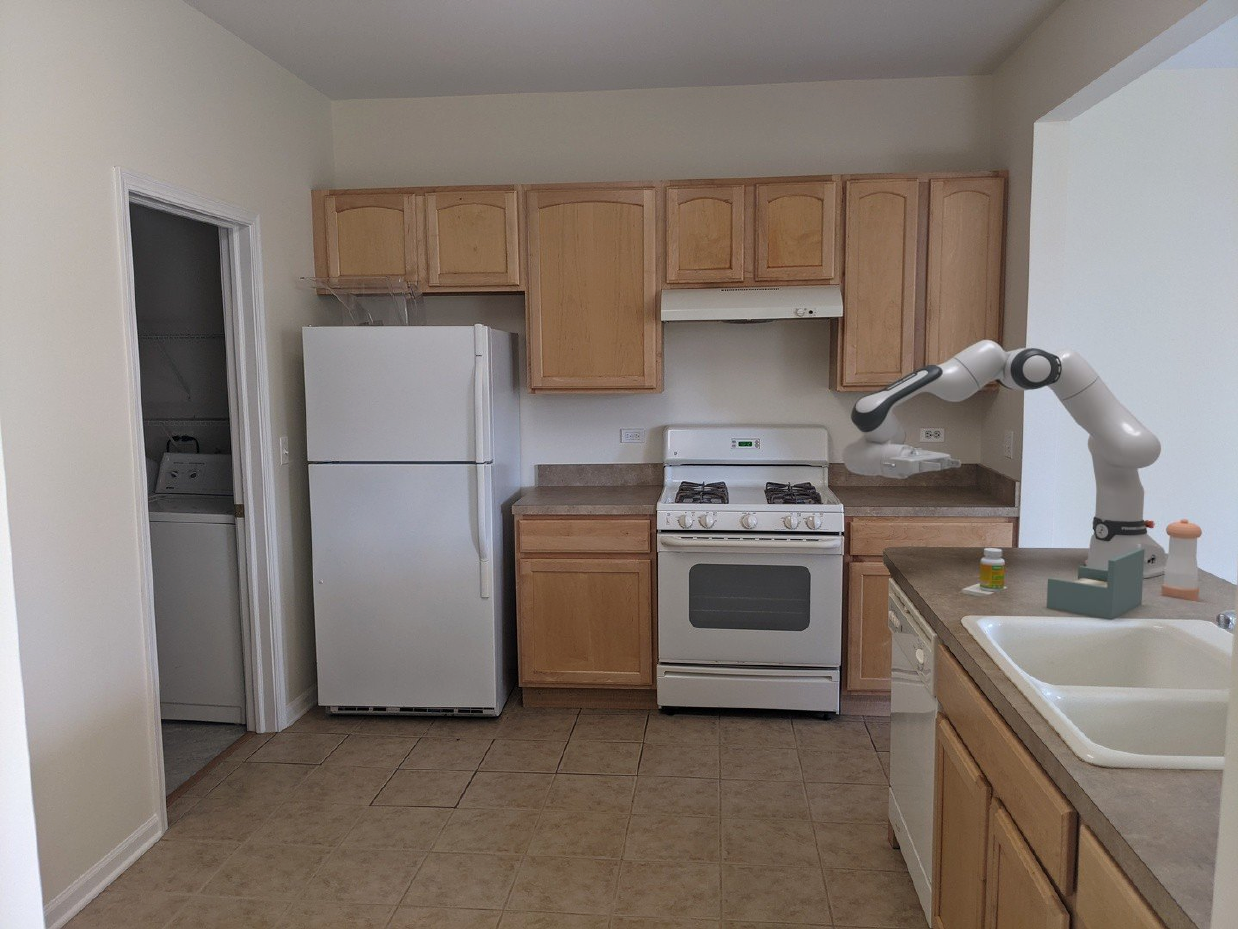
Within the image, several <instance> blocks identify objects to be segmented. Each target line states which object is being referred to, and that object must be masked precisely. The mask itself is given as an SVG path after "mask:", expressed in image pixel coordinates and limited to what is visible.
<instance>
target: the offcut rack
mask: <svg viewBox="0 0 1238 929" xmlns="http://www.w3.org/2000/svg"><path fill="white" fill-rule="evenodd" d="M1144 553H1145V549H1142V548H1138V549H1135V550H1133V551H1130V552H1128V553H1125V554H1123V555H1120V556H1118V557H1115V558H1113V559H1110V560H1108V570H1104V569H1097V568H1091V567H1086V566H1082V565H1080V566H1079V565H1078V570H1077V580H1078V579H1081V578H1085V579H1091V580H1097V581H1103V582H1107V587H1104V586H1098V585H1092V584H1085V583H1079V582H1073V581H1074V580H1073V581H1071V580H1066V579H1059V578H1053V577H1049V578H1047V591H1046V592H1047V593H1046V608H1047V609H1051V610H1057V611H1060V612H1066V613H1073V614H1077V615H1082V616H1089V617H1093V618H1098V619H1104V620H1110V621H1112V620H1114V619H1116V618H1119V617H1120V616H1122V615H1123V614H1126V613H1128V612H1129V611H1131V610H1133V609H1135V608H1137V607H1139V606H1141V605H1142V602H1143V601H1142V599H1143V584H1144V582H1143V581H1144V578H1143V570H1144Z"/></svg>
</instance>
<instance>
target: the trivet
mask: <svg viewBox="0 0 1238 929" xmlns="http://www.w3.org/2000/svg"><path fill="white" fill-rule="evenodd" d="M1007 588H1008V587H1007V586H1004V589H1003V590H1005V589H1007ZM993 593H995V592H992V591H985V590H982V589H981V588H980V582H979V583H976V584H973V585H970V586H968V587H964V588H962V589H961V594H963V595H964V594H965V595H969V596H975V597H979V598H984V597H986V596H989V595H991V594H993Z"/></svg>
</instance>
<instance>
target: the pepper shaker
mask: <svg viewBox="0 0 1238 929" xmlns="http://www.w3.org/2000/svg"><path fill="white" fill-rule="evenodd" d="M1165 532H1166V534H1167V535H1168V536H1169V539H1168V540H1169V541H1168V552H1167V554H1168V555H1167V559H1166V561H1165V564H1166V566H1165V572H1164V574H1163V575H1164V578H1163V583H1162V584H1161V597H1166V598H1172V599H1178V600H1184V601H1191V602H1195V603H1196V602H1197V603H1198V602H1199V594H1200V592H1199V591H1200V589H1199V587H1198V581H1199V580H1198V579H1199V568H1198V561H1197V554H1198V552H1197V549H1198V539H1199V538H1200V537H1201V536H1202V534H1203V530H1202V529H1201V527H1200V525H1198V524H1195V523H1193V522H1189V520H1188V519H1185V518H1182V519H1180V520H1179V521H1175V522H1171V523H1169V524H1168V525H1167V526H1166V528H1165Z"/></svg>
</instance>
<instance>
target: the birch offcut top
mask: <svg viewBox="0 0 1238 929" xmlns="http://www.w3.org/2000/svg"><path fill="white" fill-rule="evenodd" d="M1073 582H1079V583H1085V584H1092V585H1098V586H1104V587H1107V582H1103V581H1097V580H1091V579H1085V578H1081V579H1078V578H1077V579H1075V580H1073Z"/></svg>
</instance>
